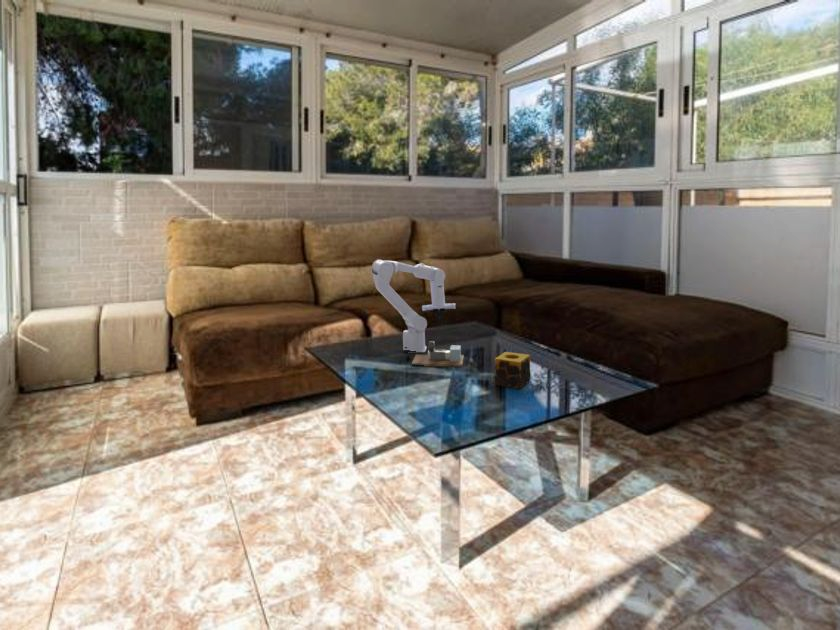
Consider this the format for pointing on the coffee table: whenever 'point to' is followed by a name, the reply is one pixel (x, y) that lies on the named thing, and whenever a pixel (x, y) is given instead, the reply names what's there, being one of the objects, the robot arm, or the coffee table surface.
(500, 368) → the candle
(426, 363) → the guide board
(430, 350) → the bolt
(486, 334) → the coffee table surface
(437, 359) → the channel
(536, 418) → the coffee table surface
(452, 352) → the block
